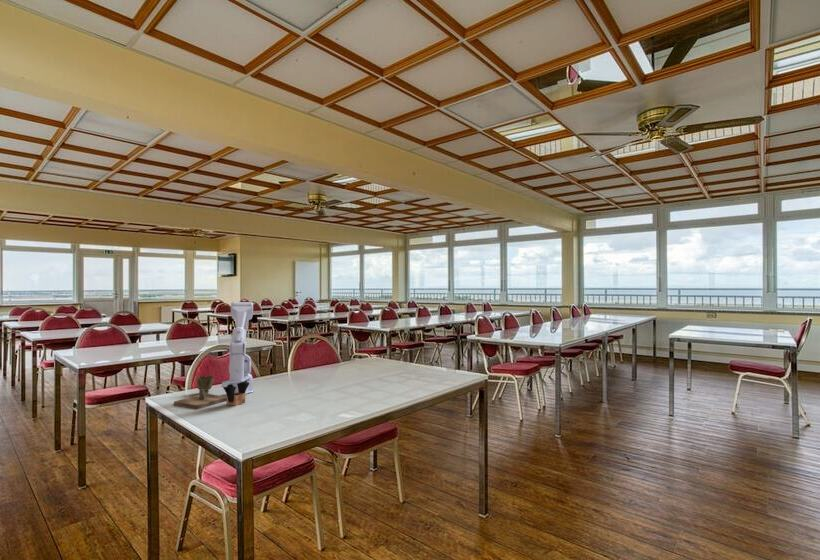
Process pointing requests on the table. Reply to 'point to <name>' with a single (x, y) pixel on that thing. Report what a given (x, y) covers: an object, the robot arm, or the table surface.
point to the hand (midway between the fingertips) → (236, 400)
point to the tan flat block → (200, 400)
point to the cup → (204, 383)
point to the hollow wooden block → (237, 399)
